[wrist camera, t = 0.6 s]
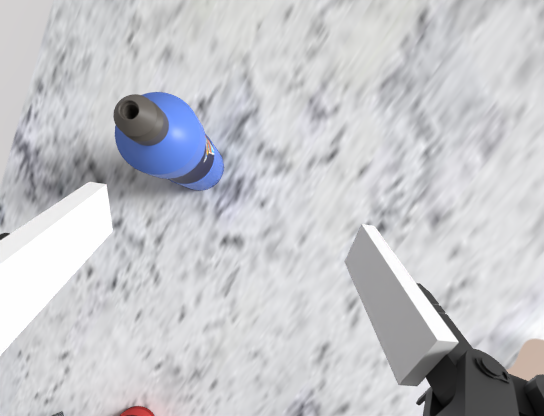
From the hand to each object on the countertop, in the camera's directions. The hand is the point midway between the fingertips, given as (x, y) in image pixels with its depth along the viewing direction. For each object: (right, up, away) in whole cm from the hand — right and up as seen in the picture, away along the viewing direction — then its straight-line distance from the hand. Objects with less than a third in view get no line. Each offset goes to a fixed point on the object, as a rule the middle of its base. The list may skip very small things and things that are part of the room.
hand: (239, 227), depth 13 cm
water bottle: (-12, +9, +34) cm, 37 cm away
